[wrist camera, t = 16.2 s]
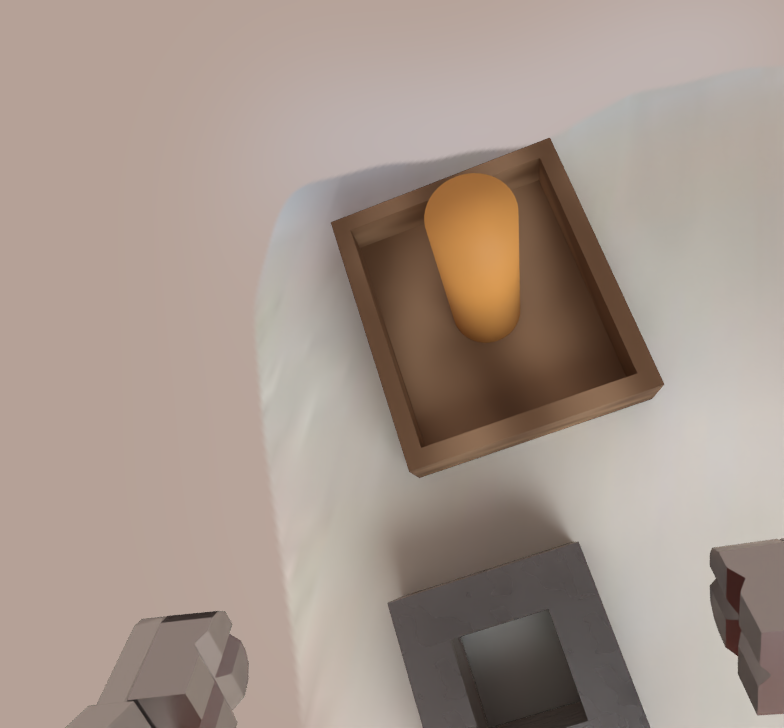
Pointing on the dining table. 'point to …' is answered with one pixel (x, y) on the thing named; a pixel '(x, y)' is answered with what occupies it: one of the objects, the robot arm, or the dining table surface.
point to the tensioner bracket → (503, 604)
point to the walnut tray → (515, 351)
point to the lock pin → (477, 253)
